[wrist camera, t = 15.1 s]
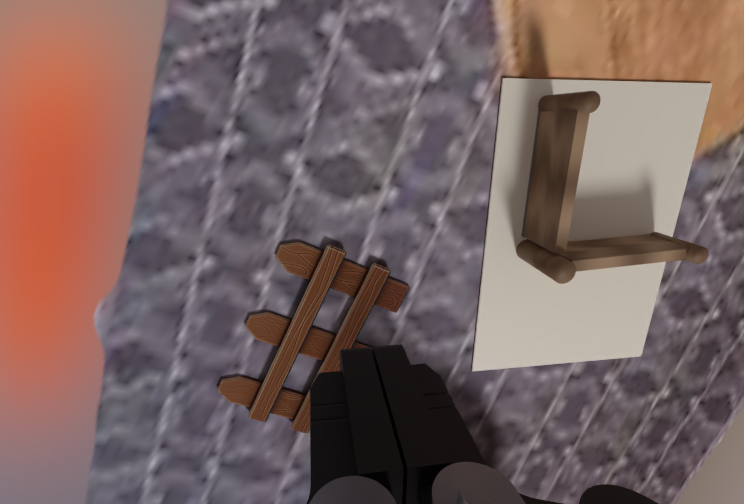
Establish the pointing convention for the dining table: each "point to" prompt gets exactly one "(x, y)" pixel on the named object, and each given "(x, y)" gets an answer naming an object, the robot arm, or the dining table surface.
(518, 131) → the card
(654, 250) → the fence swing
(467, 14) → the dining table surface
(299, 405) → the decorative fence
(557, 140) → the fence fixed
